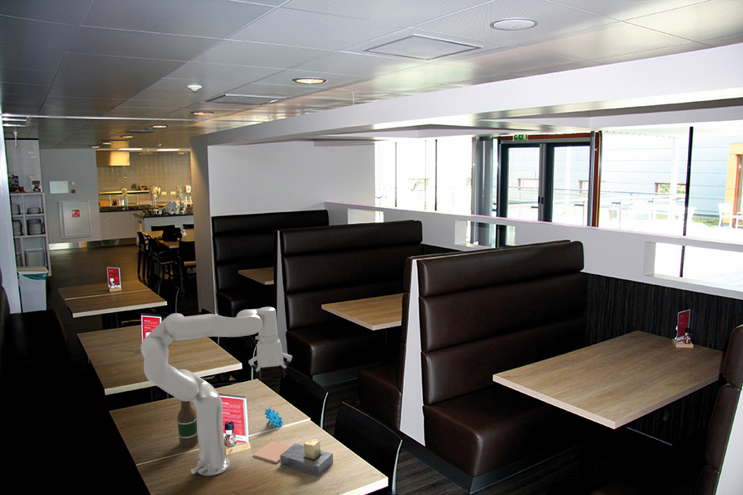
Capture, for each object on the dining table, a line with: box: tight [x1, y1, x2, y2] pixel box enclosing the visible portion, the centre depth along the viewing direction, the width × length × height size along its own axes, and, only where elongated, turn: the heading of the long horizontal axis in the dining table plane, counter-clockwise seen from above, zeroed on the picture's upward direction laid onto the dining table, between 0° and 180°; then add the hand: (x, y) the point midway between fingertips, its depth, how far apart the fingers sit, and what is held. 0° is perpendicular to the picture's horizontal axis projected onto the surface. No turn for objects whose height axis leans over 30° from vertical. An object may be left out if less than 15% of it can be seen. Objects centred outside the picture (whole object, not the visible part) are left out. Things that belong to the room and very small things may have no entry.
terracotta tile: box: [252, 440, 293, 464], centre depth 220 cm, size 12×12×1 cm
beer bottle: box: [177, 400, 199, 448], centre depth 228 cm, size 8×8×24 cm
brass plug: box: [303, 437, 321, 461], centre depth 209 cm, size 4×4×10 cm
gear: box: [264, 407, 284, 428], centre depth 244 cm, size 11×6×10 cm
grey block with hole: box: [280, 443, 334, 477], centre depth 211 cm, size 10×18×4 cm, turn 61°
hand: (272, 378), depth 219 cm, fingers open, 9 cm apart
